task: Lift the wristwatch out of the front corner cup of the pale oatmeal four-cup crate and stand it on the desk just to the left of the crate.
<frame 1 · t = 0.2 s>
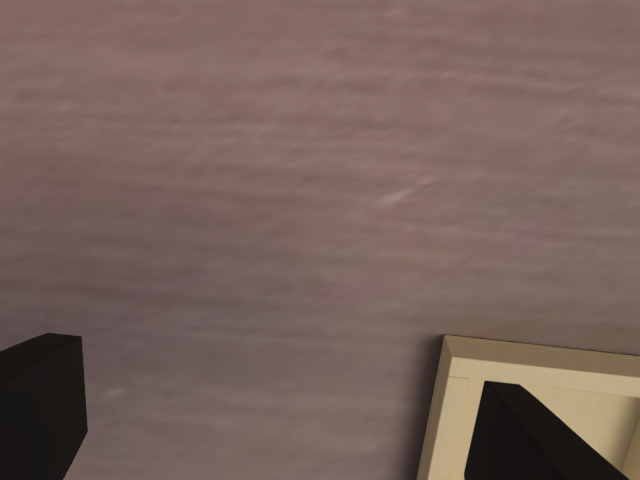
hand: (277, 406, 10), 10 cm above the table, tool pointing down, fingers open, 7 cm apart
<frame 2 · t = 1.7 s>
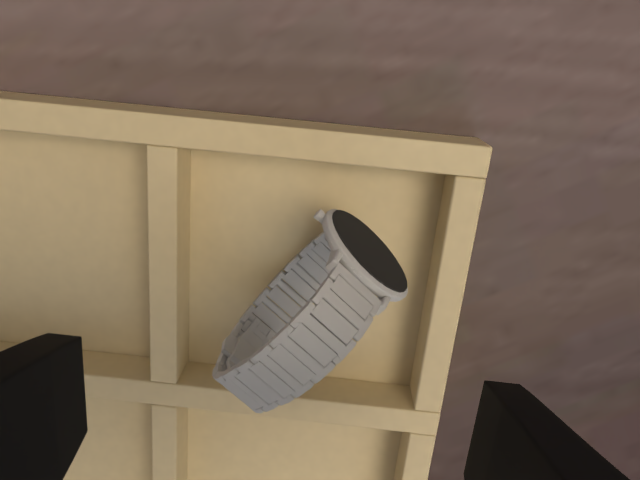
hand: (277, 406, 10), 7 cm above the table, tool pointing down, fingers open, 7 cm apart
crate: (179, 365, 17), on the table
wristwatch: (308, 268, 16), resting on crate
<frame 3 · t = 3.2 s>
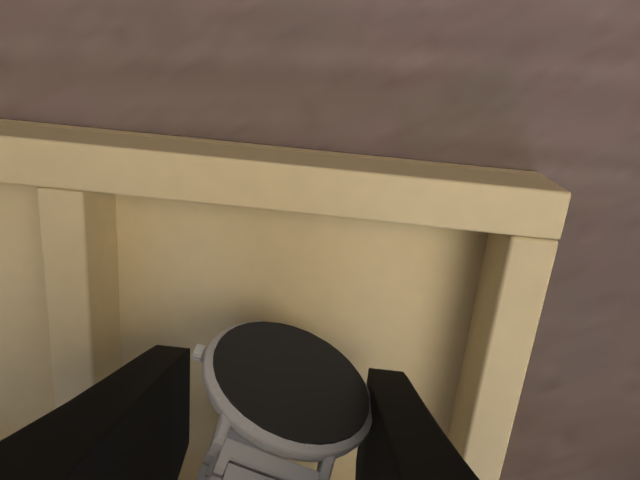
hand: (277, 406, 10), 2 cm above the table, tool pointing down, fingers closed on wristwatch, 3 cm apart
crate: (115, 475, 13), on the table
wristwatch: (262, 385, 12), resting on crate, touching gripper
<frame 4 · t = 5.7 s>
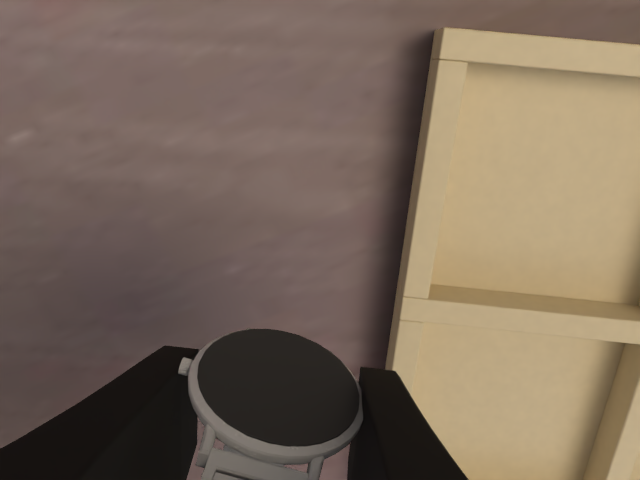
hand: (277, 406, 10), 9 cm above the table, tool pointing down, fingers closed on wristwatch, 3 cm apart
wristwatch: (268, 392, 12), point 7 cm above the table, touching gripper
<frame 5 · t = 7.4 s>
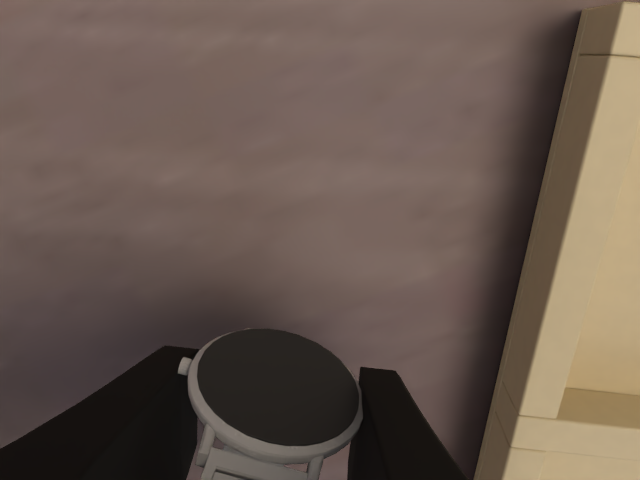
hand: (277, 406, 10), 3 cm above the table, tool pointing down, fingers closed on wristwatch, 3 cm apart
wristwatch: (267, 392, 12), point 1 cm above the table, touching gripper
when the fingers open (2 cm above the table, at t = 8.2 s): wristwatch stays where it is, on the table.
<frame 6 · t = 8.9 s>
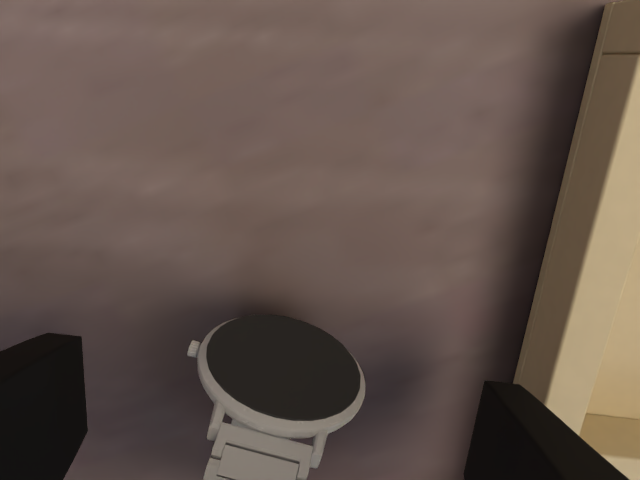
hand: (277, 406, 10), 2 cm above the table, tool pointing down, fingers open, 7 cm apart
wristwatch: (270, 379, 12), on the table
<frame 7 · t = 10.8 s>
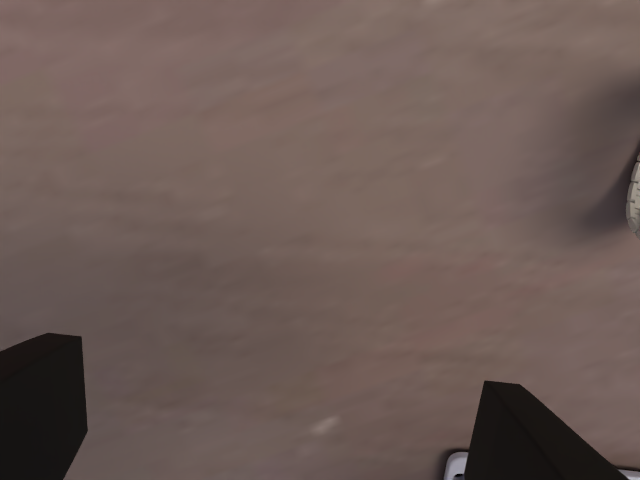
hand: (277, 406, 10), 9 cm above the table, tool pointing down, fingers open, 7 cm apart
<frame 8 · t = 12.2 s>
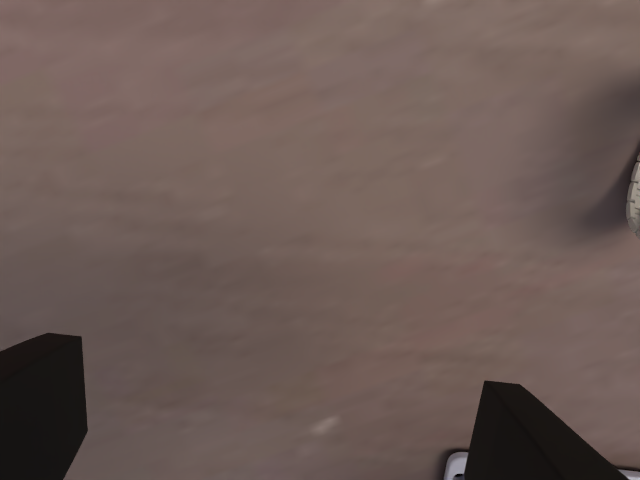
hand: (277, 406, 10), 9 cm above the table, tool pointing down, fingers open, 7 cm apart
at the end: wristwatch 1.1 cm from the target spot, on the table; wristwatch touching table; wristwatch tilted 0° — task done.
